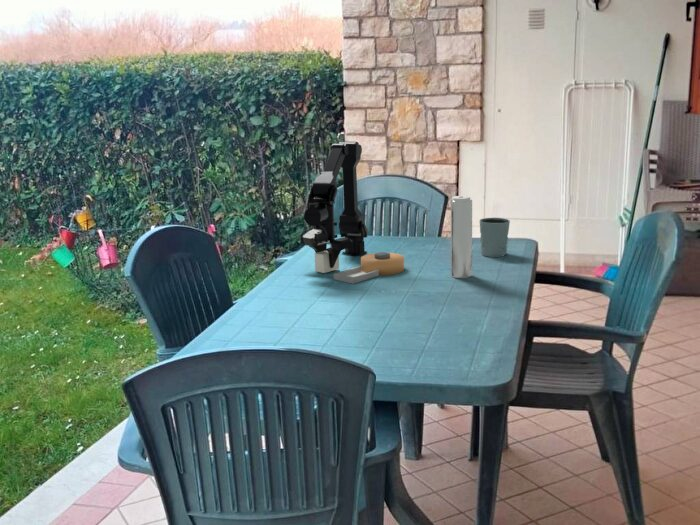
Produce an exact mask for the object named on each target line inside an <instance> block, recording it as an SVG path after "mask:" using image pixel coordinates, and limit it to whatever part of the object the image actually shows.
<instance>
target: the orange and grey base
mask: <svg viewBox="0 0 700 525" xmlns="http://www.w3.org/2000/svg"><path fill="white" fill-rule="evenodd" d="M404 270H405V256H404V255H402V254H399V253H396V252H395V253H394V252H383V251H382V252H375V253H368V254H367V253H366V254H363V255H362V256H361V257H360V265H359V266H356V267H351V268H348V269H345V270H342V271H339V272H338V271H337V272H334V273H333V280H335V281H340V282H345V283H349V284H356V283H360V282H363V281H364V282H365V281H367V280H370V279H373V278H377V277H379V276H389V275H396V274H399V273H402V272H404Z"/></svg>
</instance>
